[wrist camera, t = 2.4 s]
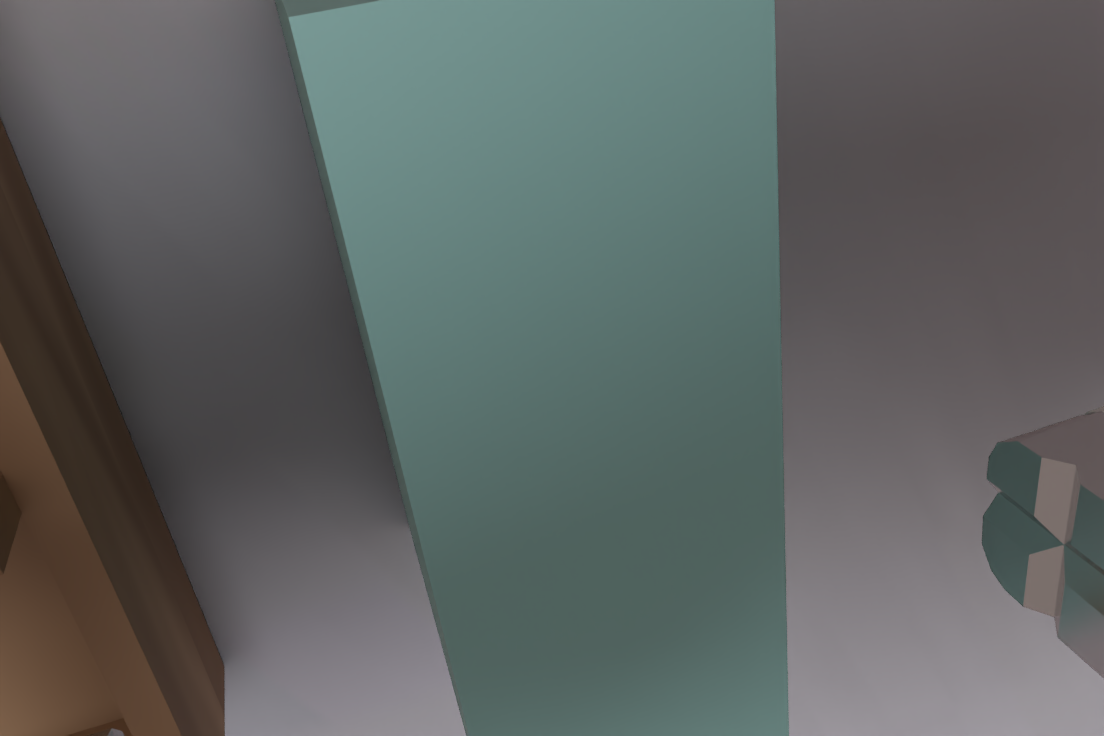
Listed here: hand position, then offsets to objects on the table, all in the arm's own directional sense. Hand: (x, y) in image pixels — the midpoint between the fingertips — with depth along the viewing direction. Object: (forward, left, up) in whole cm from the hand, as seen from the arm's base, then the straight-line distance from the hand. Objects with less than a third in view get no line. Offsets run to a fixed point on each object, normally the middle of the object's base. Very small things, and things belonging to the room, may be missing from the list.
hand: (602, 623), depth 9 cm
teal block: (-1, 0, -9) cm, 9 cm away
